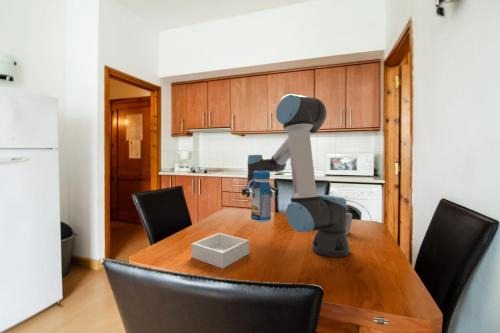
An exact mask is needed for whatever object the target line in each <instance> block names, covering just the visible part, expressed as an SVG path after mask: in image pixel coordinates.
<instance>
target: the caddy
mask: <svg viewBox="0 0 500 333" xmlns="http://www.w3.org/2000/svg"><path fill="white" fill-rule="evenodd" d="M190 246H191V251H190V252H191V253H190V254H191V259H195V260H198V261H201V262H203V263H206V264H210V265H213V266H214V267H217V268H220V269H224V268H226V267H228V266H229V265H231V264H233V263H236V262H237V261H239V260H240V259H242V258H244V257H245V256H247V255H249V254H250V240H249V239H245V238H241V237H237V236H234V235H230V234H229V235H228V234H227V233H226V234H225V233H221V232H217V233H214V234H213V235H210V236H207V237H205V238H202V239H200V240H197V241H194V242H191V245H190Z"/></svg>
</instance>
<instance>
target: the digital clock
mask: <svg viewBox="0 0 500 333" xmlns="http://www.w3.org/2000/svg"><path fill="white" fill-rule="evenodd" d="M352 222H353V214H352V213H350V212H346V236H348V235H349V234H350V231H351V225H352Z"/></svg>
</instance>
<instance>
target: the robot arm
mask: <svg viewBox="0 0 500 333" xmlns="http://www.w3.org/2000/svg"><path fill="white" fill-rule="evenodd" d="M275 117H276V120H277V121H278V122H279V124H281V125H283V131H284V132H285V133H286V134H287V138H286V139H285V140H284V142H283V143H282V144H281V145H280V146H279V147H278V149H277V150H276V151H275V153H274V154H273V155H272V156H271V157H263V154H259V153H258V154H257V153H256V154H255V153H254V154H252V153H251V154H249V155H247V162H246V163H247V181H246V186H245V185H244V186H242V189H241V195H242V196H245V195H246V196H245V197H246V198H250V199H252V195H253V192H252V189H251V187H252V184H253V183H254V181H255V180H254V178H253V173H254V171H269V172H270V173H272V172H275V173H280V172H283V171H285V169H286V167H287V162H288V161H289V159H290V167H291V168H290V169H291V175H292V176H291V177H292V186H293V187H292V188H293V194H291V196H290V203H288V205H287V207H286V209H285V216H286V220H287V222H288V224H289V226H290V227H291V228H292V229H293V230H294V231H295V232H297V233H301V234H302V233H310V232H314V231H315V234H314V236H313V240H312V242H311V249H312V251H313V252H315V253H316V254H318V255H320V256H325V257H331V258H342V257H343V258H344V257H347V256H349V255H350V254H349V253H351V247H350V244H349V243H350V242H349V240H348V235H346V213H347V209H348V205H347V200H346V199H345V198H344V197H341V196H337V195H336V196H335V195H329V194H320V193H319V192H318V191H317V187H316V178H315V176H316V175H315V169H314V160H313V151H312V143H311V135H312V134H316V133H317V132H318V131H319V130H320V129H321V127H322V126H323V125H324V123H325V121H326V118H327V108H326V105H325V103H324V102H323V101H322V100H321V99H319V98H316V97H310V96H305V95H299V94H296V93H295V94H292V93H291V94H289V93H288V94H286V95H284V96H283V97H282V98H281V99H280V100H279V102H278V104H277V106H276V110H275ZM278 195H279V188H276V187H274V186H272V185H271V199H272V200H274V199H275V198H276V197H277V196H278ZM275 196H276V197H275Z"/></svg>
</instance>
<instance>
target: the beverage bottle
mask: <svg viewBox="0 0 500 333" xmlns="http://www.w3.org/2000/svg"><path fill="white" fill-rule="evenodd" d="M270 177H271V172H269V171H254V173H253V178H254V180H255V181H254V183H253V184H252V187H251V189H252V192H253V195H252V199H251V200H250V203H251V204H250V205H251V206H250V211H251V212H250V213H251V214H250V219H251V220H252V221H253V222H255V223H257V222H258V223H266V222H267V223H268V222H269V221H271V219H272V214H271V212H272V197H271V186H272V185H271V183H270V182H269V180H270V179H271V178H270Z"/></svg>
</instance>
